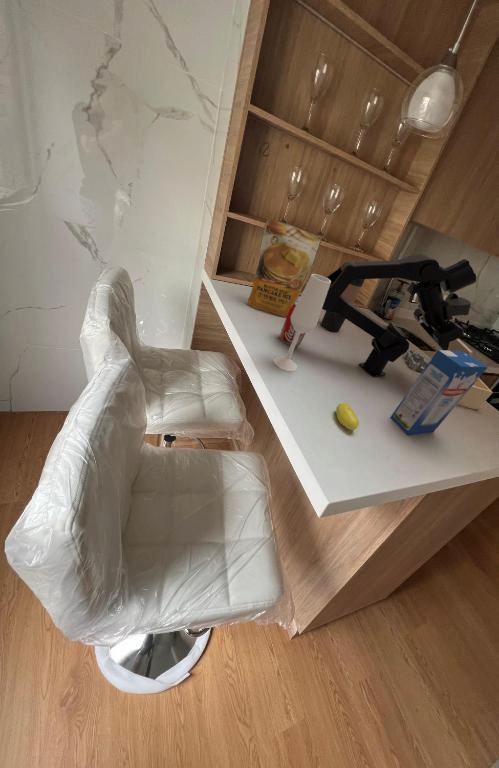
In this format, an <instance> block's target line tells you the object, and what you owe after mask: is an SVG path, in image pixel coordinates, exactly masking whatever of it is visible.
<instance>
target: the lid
mask: <svg viewBox="0 0 499 768" xmlns="http://www.w3.org/2000/svg"><path fill="white" fill-rule="evenodd" d="M448 350H449V351H463V352H466V353H467V354H469V355H470V356H472V355H473V354H474V353H473V351H472V350H471V349H470V348H469V346H467V345H466V344H465V343H464V342H463V341H461V339H460V338H459V339H456V340H454V341H451V342H449V347H448ZM472 357H473V356H472Z"/></svg>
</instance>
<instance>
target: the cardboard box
mask: <svg viewBox="0 0 499 768" xmlns="http://www.w3.org/2000/svg"><path fill="white" fill-rule="evenodd" d="M493 393H494V392H493V391H492V390H491V389H490V388H489V387H488V386H487V385H486V383H484V381H482V380H481V378H480V377H479V378H478V380H477V381H476V382H475V383H474V384H473V386H472V387H471V388H470V389H469V390H468V392H467V393H466V394H465V395H464V396H463V398H462V399H461V400H460V401H459V402H458V403H457V405H458V406H462V407H465V408H468V409H471V410H474V411H475V410H476V411H478V410H479V409H480V407H481V406H482V405H483V404H484V403H485V402H486V401H487V400H488V398H490V396H491V395H492V394H493ZM457 405H456V406H457Z"/></svg>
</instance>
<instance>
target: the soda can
mask: <svg viewBox="0 0 499 768" xmlns="http://www.w3.org/2000/svg"><path fill="white" fill-rule="evenodd" d="M298 301H299V300H297V301H295V303H294V304H293V305H292V306H291V307H290V310H289V312H288V314H287V317H285V320H284V322H283V325H282V328H281V331H280V335H279V338H280V339H281V341H282V342H283V343H285V344H286V345H289V346H291V344H292V341H293V339H294V336H295V334H296V331H295V330H294V328H293V326H292V323H291V315H292V313H293V311H294V309H295V307H296V305H297V303H298ZM305 335H306V333H302V334H300V336H299V339H298V341H297V343H296V346H298V345H300V344H301V343H302V342H303V340H304V337H305Z"/></svg>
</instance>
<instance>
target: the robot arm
mask: <svg viewBox="0 0 499 768" xmlns="http://www.w3.org/2000/svg"><path fill="white" fill-rule="evenodd" d="M325 277H326V278H328V279H329V280H330V281H331V283H330V286H329V289H328V292H327V295H326V298H325V301H324V304H323V307H322V310H323V311H325V312H326V311H328V312H331V313H336V314H339V315H341V316H342V317H344V318H345V320H347V321H348V322H350V323H351V324H353V325H355V326H356V327H358V329H360V330H362V331H363V332H365V333H366V334H367V335H369V336H371V337H372V339H371V343H370V344H371V346H372V350H371V351H370V353H369V354H368V356H367V358H366V360H365V362H360V363H358V366H359V367H360V368H362V370H364V371H365V372H367V373H368V374H369V375H370V376H371V377H374V378H376V377H382V376H386V375H387V373H386V372H385V371H384V369H385V368H386V367H387V365H388V363H389V362H390V363H395V361H396V360H398V359H399V358H400V357H401V356H404V355H405V354H406V352H407V351H408V349H410V342H409V341H408V339H409V338H408V336H407V335H406V334H405V333H404V331H403V330H402V329H401V328H400V327H397V326H396V325H394V324H393V323H392V321H390V322H389V324H388V325H384V324H382V323H380V322H379V321H377V320H376V319H375V318H374V317H371V316H370V315H368V314H367V313H366V312H364V311H363V310H361V308H358V307H357V306H355V305H354V303H353V304H351V303H350V302H348V301H347V300H345V299H344V298H343V296H342V293H343V292H344V291H345V290H346V288H347V287H348V286H349V284H350V283H351V282H352V281H353V280H359V279H365V280H377V279H378V280H379V279H380V280H382V279H404V280H406V281H407V280H408V281H410V285H409V286H408V287H407V288H406V291H407V293H409V294H410V295H411V296H413V295H416V296H417V299H418V303H419V304H417V307H418V308H415V310H414V312H413V313H412V314H413V318H414V319H415V321H416V322H420V321H422V322H421V323H419V325H420V326H421V327H422V329H423V330H424V331H425V332H426V333H427V334H428V336H430V338H432V339H433V341H434V342H435V343H436V344H437V345H438V346H439V347H440V349H441V350H448V347H449V342H451V341H454V340H456V339H459V340H460V339H461V338H464V337H465V331H464V328H463V327H461V325H459V323H457V322H448V321H450V320H452V319H453V317H457V316H468V315H469V314H470V310H471V305H472V302H471V301H469V300H467V299H466V298H464V297H461V296H459V295H458V294H457V293H456V292H457V291H459V290H462V289H465V288H466V287H469V286H471V285H474V284H476V282H477V275H476V272H475V271H474V269H473V267H472V266H471V264H470V261H469V260H468V259H465V258H463V259H461V260H459V261H457V262H456V263H453V264H452V265H449V266H447V267H445V268H443V267H442V266H440V264H439V262H438V260H436V259H435V258H433V257H432V256H430V255H428V254H425V253H418V254H417V253H416V254H413V255H408V256H404V257H402V258H400V259H396V260H373V261H372V260H371V261H370V260H369V261H349V260H348V261H345V262H344V263H342V264H341V265H340V266H339V267H338V268H337V269H336V270H334V271H332V272H331V273H330V274H328V275H327V276H325ZM443 292H448V295H447V296H446V298H445V299H444V295H443Z"/></svg>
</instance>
